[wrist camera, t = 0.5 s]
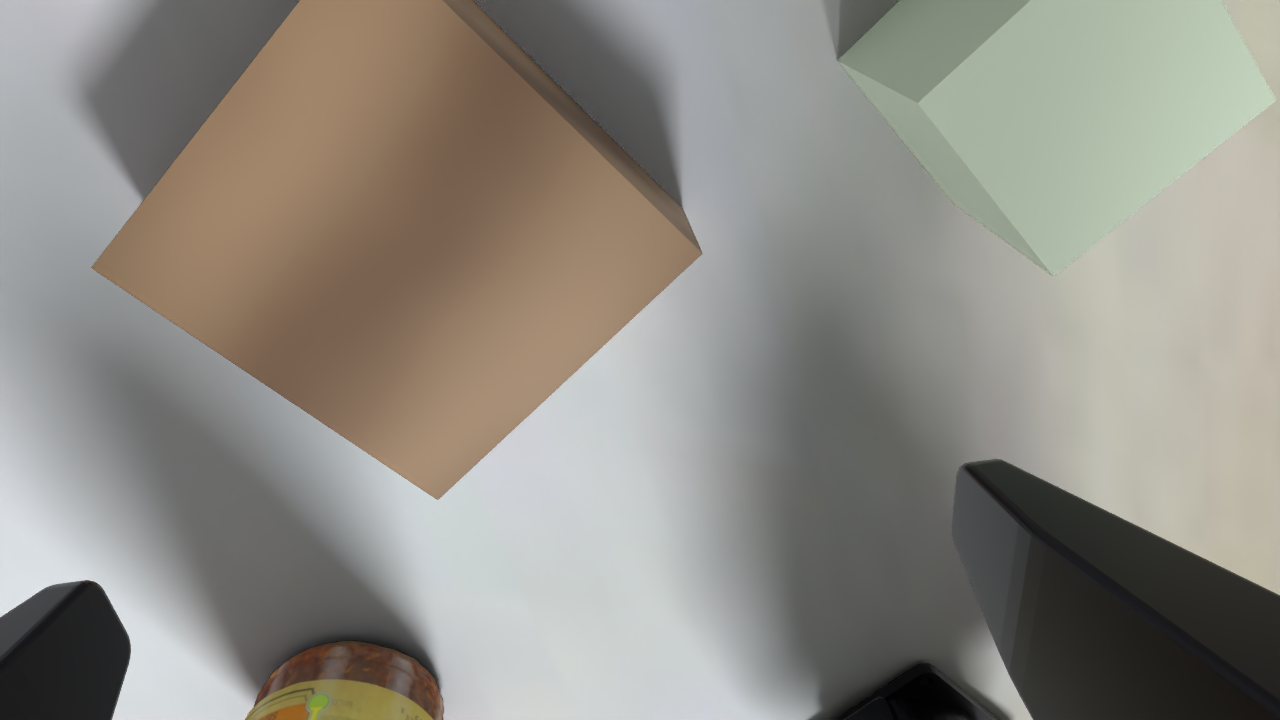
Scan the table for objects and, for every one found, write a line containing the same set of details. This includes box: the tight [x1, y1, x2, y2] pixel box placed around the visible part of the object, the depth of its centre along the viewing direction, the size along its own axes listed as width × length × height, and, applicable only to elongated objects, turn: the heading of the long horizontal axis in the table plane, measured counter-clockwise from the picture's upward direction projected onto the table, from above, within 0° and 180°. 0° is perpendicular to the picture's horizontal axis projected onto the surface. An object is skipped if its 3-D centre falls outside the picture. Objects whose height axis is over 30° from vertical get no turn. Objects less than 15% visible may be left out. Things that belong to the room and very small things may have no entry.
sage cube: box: [837, 0, 1276, 277], centre depth 18 cm, size 5×5×5 cm
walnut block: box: [91, 0, 702, 500], centre depth 19 cm, size 9×9×4 cm
